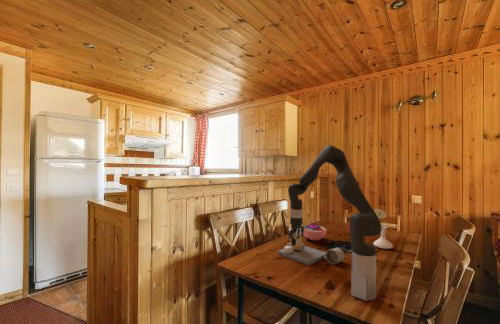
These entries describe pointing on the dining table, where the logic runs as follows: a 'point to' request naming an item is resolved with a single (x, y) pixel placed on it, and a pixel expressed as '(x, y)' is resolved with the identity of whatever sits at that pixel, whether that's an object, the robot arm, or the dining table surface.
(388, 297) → the dining table surface
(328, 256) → the ceramic mug
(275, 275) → the dining table surface
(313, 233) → the cell model
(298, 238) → the gold hollow block
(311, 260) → the carrier
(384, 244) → the flower in vase
